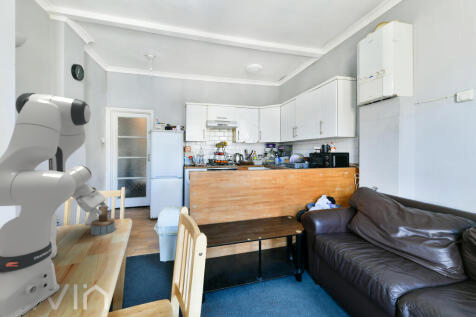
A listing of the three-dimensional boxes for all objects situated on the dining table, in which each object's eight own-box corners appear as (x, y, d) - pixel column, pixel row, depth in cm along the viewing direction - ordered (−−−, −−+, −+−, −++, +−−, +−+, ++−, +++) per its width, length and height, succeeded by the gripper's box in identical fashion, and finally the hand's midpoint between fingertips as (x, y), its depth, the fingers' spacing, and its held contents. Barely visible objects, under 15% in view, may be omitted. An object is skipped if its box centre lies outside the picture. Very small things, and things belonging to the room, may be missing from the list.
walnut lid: (108, 226, 107) (108, 209, 107) (86, 227, 106) (86, 209, 106) (118, 219, 118) (118, 204, 118) (98, 220, 117) (98, 204, 117)
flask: (92, 225, 120) (92, 209, 119) (82, 224, 121) (82, 208, 121) (102, 221, 127) (102, 206, 126) (93, 220, 128) (93, 205, 128)
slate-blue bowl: (108, 235, 108) (108, 226, 107) (86, 235, 106) (86, 227, 106) (118, 227, 118) (118, 219, 118) (98, 227, 117) (98, 219, 117)
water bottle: (45, 264, 79) (45, 201, 78) (27, 263, 79) (27, 201, 79) (61, 255, 86) (61, 197, 86) (45, 254, 87) (45, 197, 86)
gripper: (79, 194, 100) (102, 212, 103) (96, 186, 119) (114, 202, 122) (69, 203, 99) (92, 221, 102) (87, 194, 118) (106, 210, 121)
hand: (104, 211), depth 112 cm, fingers open, 8 cm apart
